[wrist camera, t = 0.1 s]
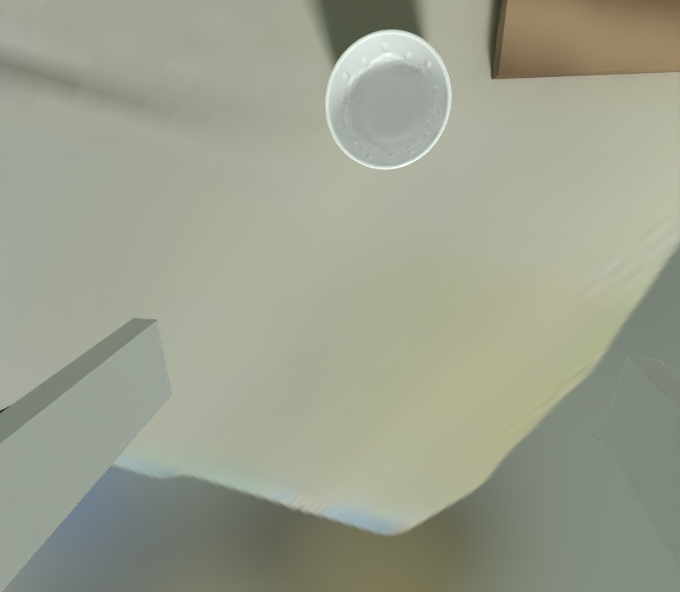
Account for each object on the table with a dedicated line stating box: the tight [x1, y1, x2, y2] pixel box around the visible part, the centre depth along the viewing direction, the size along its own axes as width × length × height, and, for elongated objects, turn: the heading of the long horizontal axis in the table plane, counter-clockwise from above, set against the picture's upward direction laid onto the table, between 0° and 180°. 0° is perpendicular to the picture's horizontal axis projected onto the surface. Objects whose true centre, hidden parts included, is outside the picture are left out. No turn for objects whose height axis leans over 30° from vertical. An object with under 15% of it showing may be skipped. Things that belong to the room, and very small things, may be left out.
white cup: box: [325, 29, 452, 169], centre depth 29 cm, size 8×8×10 cm
